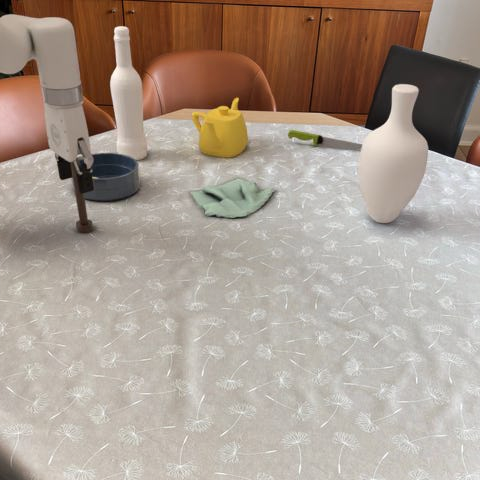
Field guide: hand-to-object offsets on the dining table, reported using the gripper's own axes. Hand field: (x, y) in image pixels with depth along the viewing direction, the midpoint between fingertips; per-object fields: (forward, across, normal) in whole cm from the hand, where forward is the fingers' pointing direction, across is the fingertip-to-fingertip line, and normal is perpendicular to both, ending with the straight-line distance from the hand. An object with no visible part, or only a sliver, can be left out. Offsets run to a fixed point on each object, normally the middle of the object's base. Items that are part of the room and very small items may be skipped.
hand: (76, 184), depth 136 cm
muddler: (+10, 0, 0) cm, 10 cm away
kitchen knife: (+10, -4, +78) cm, 79 cm away
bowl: (+10, -16, +15) cm, 24 cm away
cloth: (+10, +7, +37) cm, 39 cm away
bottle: (+10, -30, +31) cm, 44 cm away
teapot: (+10, -21, +53) cm, 58 cm away
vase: (+10, +36, +57) cm, 68 cm away
